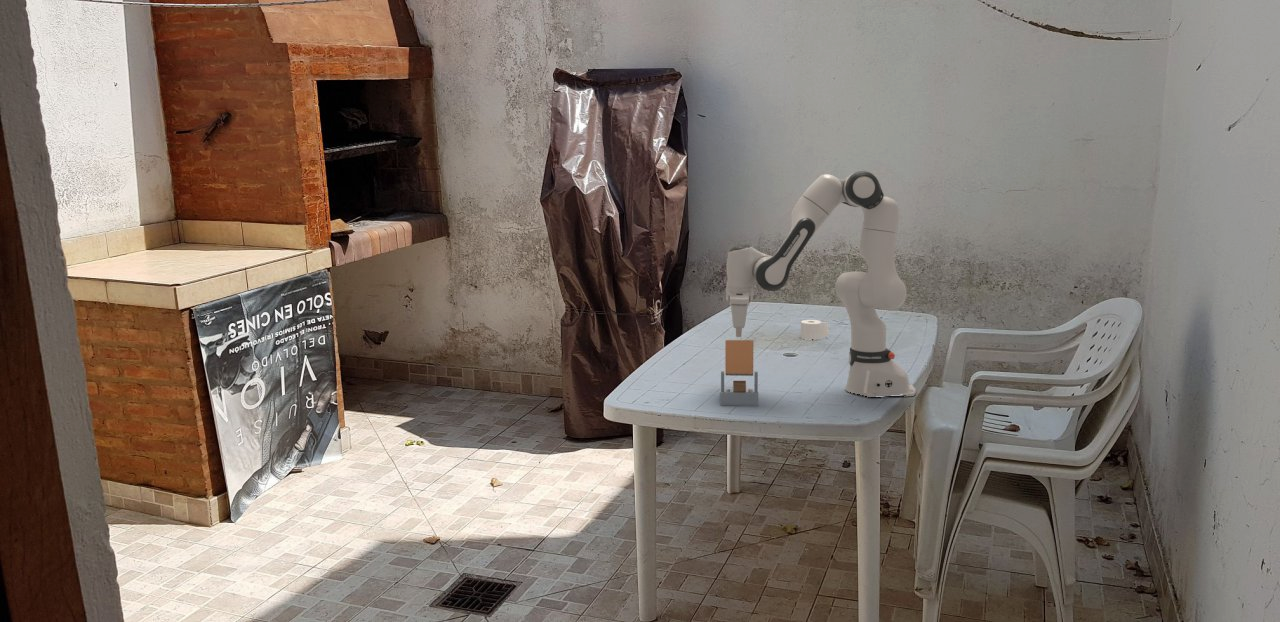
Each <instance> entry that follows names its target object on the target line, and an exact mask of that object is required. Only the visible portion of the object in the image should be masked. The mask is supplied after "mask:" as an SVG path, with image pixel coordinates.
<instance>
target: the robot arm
mask: <svg viewBox="0 0 1280 622" xmlns="http://www.w3.org/2000/svg"><path fill="white" fill-rule="evenodd" d="M884 194H885V193H884V191H883V189H882V187H881V184H880V182H879V180H878V178H877V176H875V175H874V174H873V173H872V172H870V171H866V170H860V171H855V172H853V173H851V174H850V175H848V176H847V177H845V178H842V179H839V178H838V177H836V176H834V175H832V174H829V173H824V174H821V175H819V176H818V177H817V178H815V180H814V181H813V182H812V183H811V184H810V185H809V186H808V187H807V189H806V190H805V191H804V193H803V194H802V195H801V196H800V197H799V199H798V200H797V202H796V203H795V205H794V206H793V209H792V211H791V213H790V219H791V225H790V230H789V233H788V235H787V236H786V238H785V239H784V241H782V244H781V245H780V247H779V248H778V249H777V251H776V253H775V254H774V255H770V254H766V253H764V252H761V251H760V250H757V249H756V248H754V247H753V246H752V245H749V244H742V245H737V246H734V247H732V248H731V249H730V250H729V251H728V252H727V253H728V254H727V258H726V268H725V269H726V277H727V278H726V279H727V280H726V285H725V286H726V287H725V300H726V301H727V302H728V303H729V306H730V309H731V316H732V317H731V318H732V320H731V321H732V327H733V328H735V337H736V338H741V337H742V334H743V333H742V331H743V329H744V328H745V326H746V320H747V313H748V307H749V305H750V303H751V302H753V301H754V285H755V284H758V286H759V287H760V288H761V289H763V290H765V291H768V292H775V291H778V290H781V289H782V288H783V287H784V286H785V285H786V284H787V282H788V279H789V275H790V272H791V268H792V266H793V265H794V263H795V262H796V260H797V259H798V257H799V256H800V255H801V253H802V251H803V250H804V248H805V247H806V246H807V244H808V242H809V241H810V239H812V237H813V236H814V235H815V233H816V232H817V231H818V230H819V229H820V228H821V227H822V225H823V224H824V223H825V222H826V221H827V219H828V218H829V217H830V216H831V215H832V213H833V212H834V211H835V209H836V208H837V207H838V206H839V205H840V204H845V205H847V206H850V207H854V208H860V209H862V213H863V222H862V229H861V235H860V241H859V246H858V252H859V255H860V257H862V259H863V260H864V261H865V263H866V265H867V272H864V271H845V272H843V273H841V274H840V275H839V276H838V277H837V279H836V282H835V285H834V286H835V287H834V290H835V294H836V297H837V298H838V299H839V300H840V302H842V304H843V306H844V307H845V309H846V313H847V314H848V317H849V322H850V332H851V333H850V335H851V336H850V337H851V339H850V341H851V342H850V348H849V352H848V354H849V357H848V362H849V371H848V377H847V382H846V384H845V387H844V390H845V391H846V392H848V393H850V392H851V393H850V394H853V393H855V394H854V395H857V394H860V395H859V396H862V395H864V396H863V397H865V396H867V397H866V398H868V397H876V396H891V395H900V394H903V395H906V396H905V397H913V396H915V395H916V391H917V389H916V388H915V386H913V385H912V384H911V383H910V381H909V376H908V374H907V372H906V370H904V369H903V368H902V367H901V366H900V365H898V364H897V363H896V362H894V359H895V357H896V354H895V353H894V352H893V351H892V350H890V349H889V348H887V326H886V324H885V322H884V320H882V319H881V318H880V316H879V314H878V313H877V310H882V311H883V310H884V311H888V310H889V311H890V310H891V311H892V310H898V309H900V307H902V306H903V305H904V304H905V301H906V298H907V294H908V293H907V287H906V284H905V283H904V281H903V280H902V279H901V278H900V276H899V274H898V271H897V267H896V263H895V252H896V251H895V249H896V243H897V236H898V229H899V204H898V203H897V201H896V200H895V199H893V198H891V197H889V196H885V195H884Z"/></svg>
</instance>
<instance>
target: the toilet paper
mask: <svg viewBox="0 0 1280 622" xmlns="http://www.w3.org/2000/svg"><path fill="white" fill-rule="evenodd" d="M828 335H829V336H830V331H829V325H828V322H827V321H825V322H822V321H821V320H817V319H804V320H801V322H800V338H801V337H802V338H805V339H819V338H822V337H825V336H828Z"/></svg>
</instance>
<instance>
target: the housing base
mask: <svg viewBox="0 0 1280 622" xmlns="http://www.w3.org/2000/svg"><path fill="white" fill-rule="evenodd" d="M758 373H759V372H758V371H754V380H753V381H754V386H753V387H754V389H752V388H751V389H750V388H749V389H748V391H746V393H739V392H733V391H731V389H729V388H726V389H725V370H724V371H723V370H722V371H721V372H720V392H719V396H720V397H719V405H720V406H748V407H749V406H750V407H751V406H752V407H753V406H759V391H758V389H759V387H758V386H759V384H758V383H759V382H758V380H759V379H758V377H759V375H758Z"/></svg>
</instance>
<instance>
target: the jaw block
mask: <svg viewBox="0 0 1280 622" xmlns="http://www.w3.org/2000/svg"><path fill="white" fill-rule="evenodd" d="M732 383H733V384H732V392H739V393H746V392H747V380H733V381H732Z"/></svg>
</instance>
